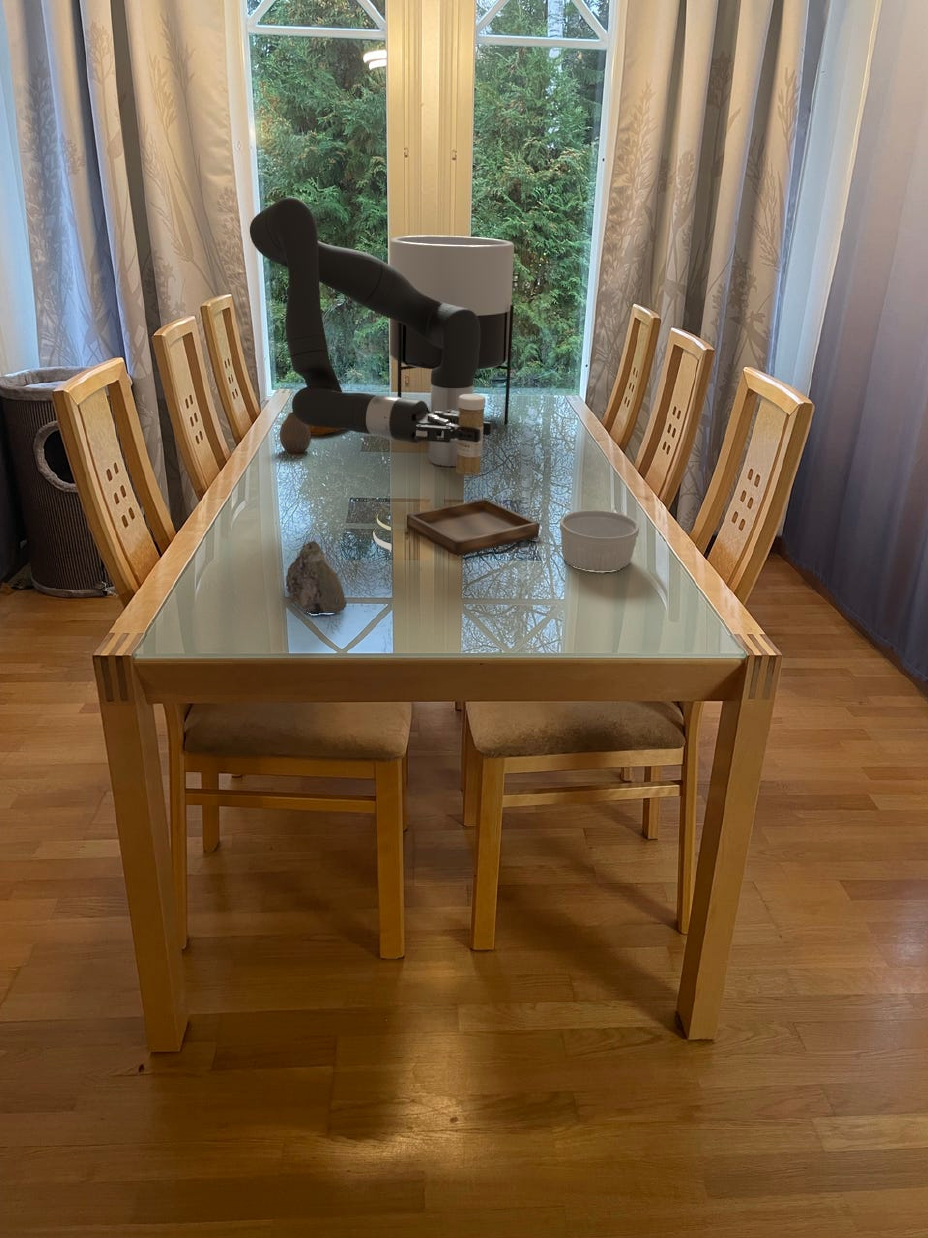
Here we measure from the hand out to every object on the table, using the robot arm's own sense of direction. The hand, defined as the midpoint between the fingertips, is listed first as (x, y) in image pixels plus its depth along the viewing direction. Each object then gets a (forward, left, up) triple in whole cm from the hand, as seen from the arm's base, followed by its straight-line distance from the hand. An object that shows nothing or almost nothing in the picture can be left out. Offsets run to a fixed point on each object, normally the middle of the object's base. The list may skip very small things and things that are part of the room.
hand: (485, 432), depth 159 cm
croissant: (-10, -79, -19) cm, 82 cm away
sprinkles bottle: (+1, -2, -8) cm, 8 cm away
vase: (+5, -64, -19) cm, 67 cm away
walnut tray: (+1, -2, -19) cm, 19 cm away
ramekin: (-9, +20, -19) cm, 29 cm away
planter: (-43, -72, -19) cm, 86 cm away
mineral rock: (+38, +9, -19) cm, 43 cm away
